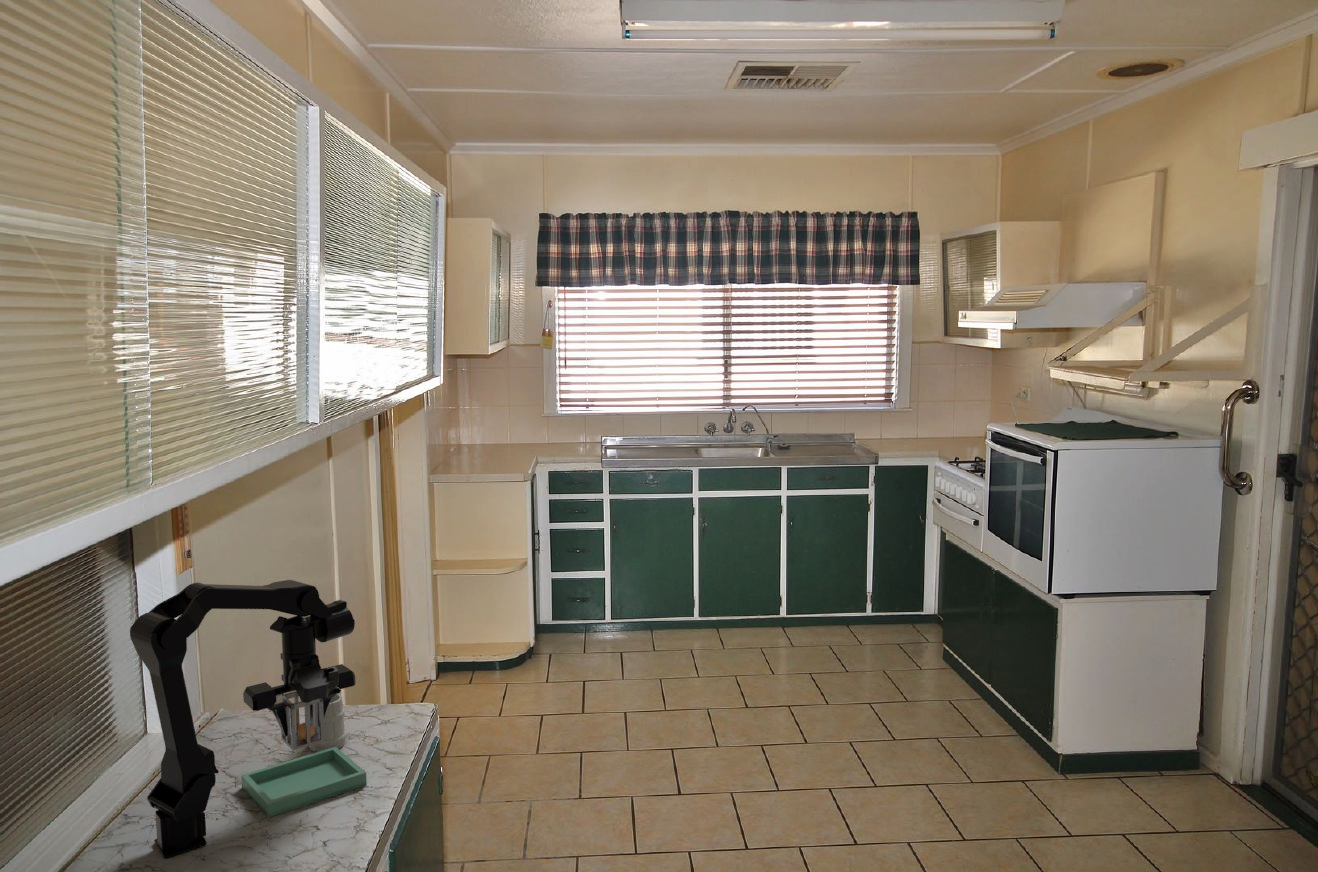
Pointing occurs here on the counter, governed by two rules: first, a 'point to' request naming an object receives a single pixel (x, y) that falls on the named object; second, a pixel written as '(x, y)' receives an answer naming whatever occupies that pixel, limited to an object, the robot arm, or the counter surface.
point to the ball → (304, 731)
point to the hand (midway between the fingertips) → (302, 730)
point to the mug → (332, 726)
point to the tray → (302, 781)
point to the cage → (293, 713)
